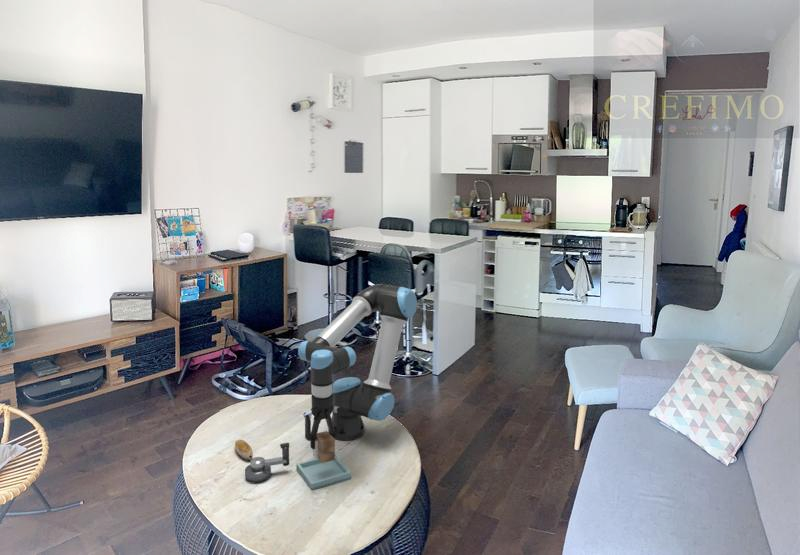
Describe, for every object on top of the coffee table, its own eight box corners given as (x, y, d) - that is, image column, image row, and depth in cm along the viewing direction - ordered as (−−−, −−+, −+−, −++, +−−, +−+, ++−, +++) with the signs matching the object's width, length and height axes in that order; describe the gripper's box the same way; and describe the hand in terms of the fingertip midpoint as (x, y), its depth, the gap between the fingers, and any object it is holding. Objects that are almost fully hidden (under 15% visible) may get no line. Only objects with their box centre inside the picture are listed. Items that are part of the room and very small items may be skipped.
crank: (251, 473, 198) (250, 452, 197) (250, 466, 203) (249, 446, 201) (290, 467, 203) (290, 446, 201) (288, 460, 208) (287, 440, 206)
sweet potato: (243, 464, 210) (242, 453, 209) (231, 448, 222) (231, 438, 221) (256, 460, 213) (256, 450, 212) (245, 444, 224) (244, 434, 223)
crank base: (241, 471, 205) (240, 464, 204) (265, 465, 209) (265, 458, 209) (249, 486, 196) (248, 478, 195) (274, 479, 201) (274, 471, 200)
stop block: (327, 451, 205) (326, 430, 204) (334, 459, 199) (334, 439, 198) (314, 454, 203) (313, 434, 201) (321, 463, 197) (321, 442, 195)
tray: (333, 459, 214) (333, 453, 214) (351, 478, 202) (350, 472, 201) (296, 469, 207) (296, 463, 206) (311, 490, 194) (311, 484, 194)
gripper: (341, 385, 205) (341, 443, 210) (294, 395, 196) (295, 455, 201) (350, 392, 199) (350, 452, 204) (301, 403, 190) (302, 465, 195)
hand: (322, 454), depth 202 cm, fingers closed on stop block, 5 cm apart
